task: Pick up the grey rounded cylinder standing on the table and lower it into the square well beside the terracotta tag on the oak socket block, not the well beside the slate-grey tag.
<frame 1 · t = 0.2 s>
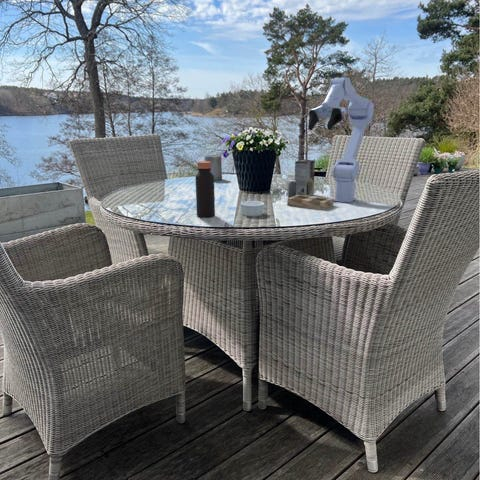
hand: (318, 128, 153), 31 cm above the table, tool tilted 50°, fingers open, 7 cm apart
grey rounded cylinder: (292, 199, 186), on the table
pillar candle: (213, 179, 245), on the table
ramekin: (252, 214, 160), on the table
coffee box: (303, 195, 196), on the table
bottle: (205, 216, 158), on the table
socket block: (310, 205, 174), on the table
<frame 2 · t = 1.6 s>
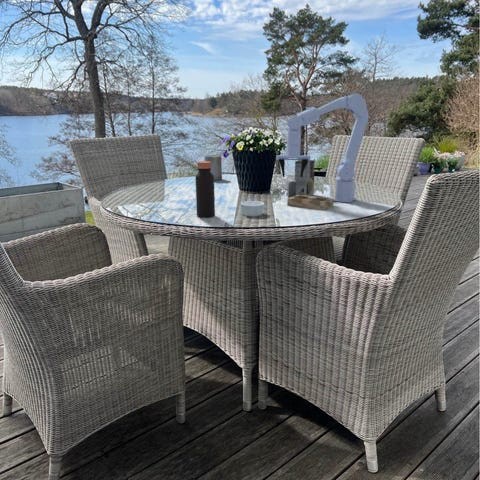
hand: (292, 176, 183), 10 cm above the table, tool pointing down, fingers open, 7 cm apart
nothing on the table moved.
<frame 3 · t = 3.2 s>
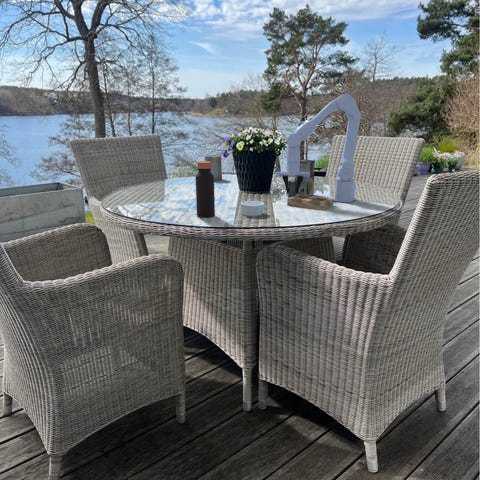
hand: (292, 193, 186), 3 cm above the table, tool pointing down, fingers closed on grey rounded cylinder, 4 cm apart
grey rounded cylinder: (292, 199, 186), on the table, touching gripper
everything else where it was.
when the fingers open (4 cm above the table, at t = 6.1 s): grey rounded cylinder stays where it is, resting on socket block.
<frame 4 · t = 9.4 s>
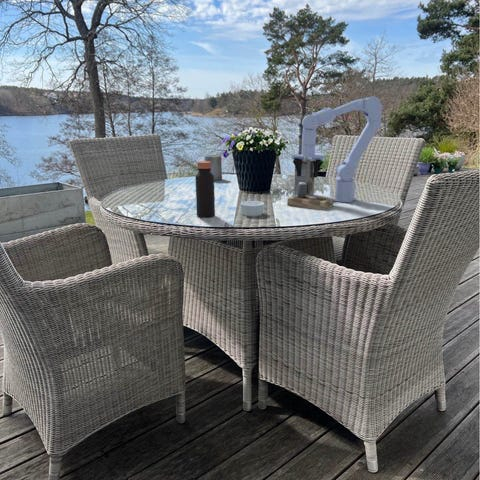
hand: (307, 176, 182), 10 cm above the table, tool pointing down, fingers open, 7 cm apart
grey rounded cylinder: (301, 203, 177), point 1 cm above the table, touching socket block
everything else where it was.
at the end: grey rounded cylinder 0.1 cm from the target spot on the socket block, point 0.5 cm above the socket block's base; grey rounded cylinder tilted 1°; the gripper is holding nothing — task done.
